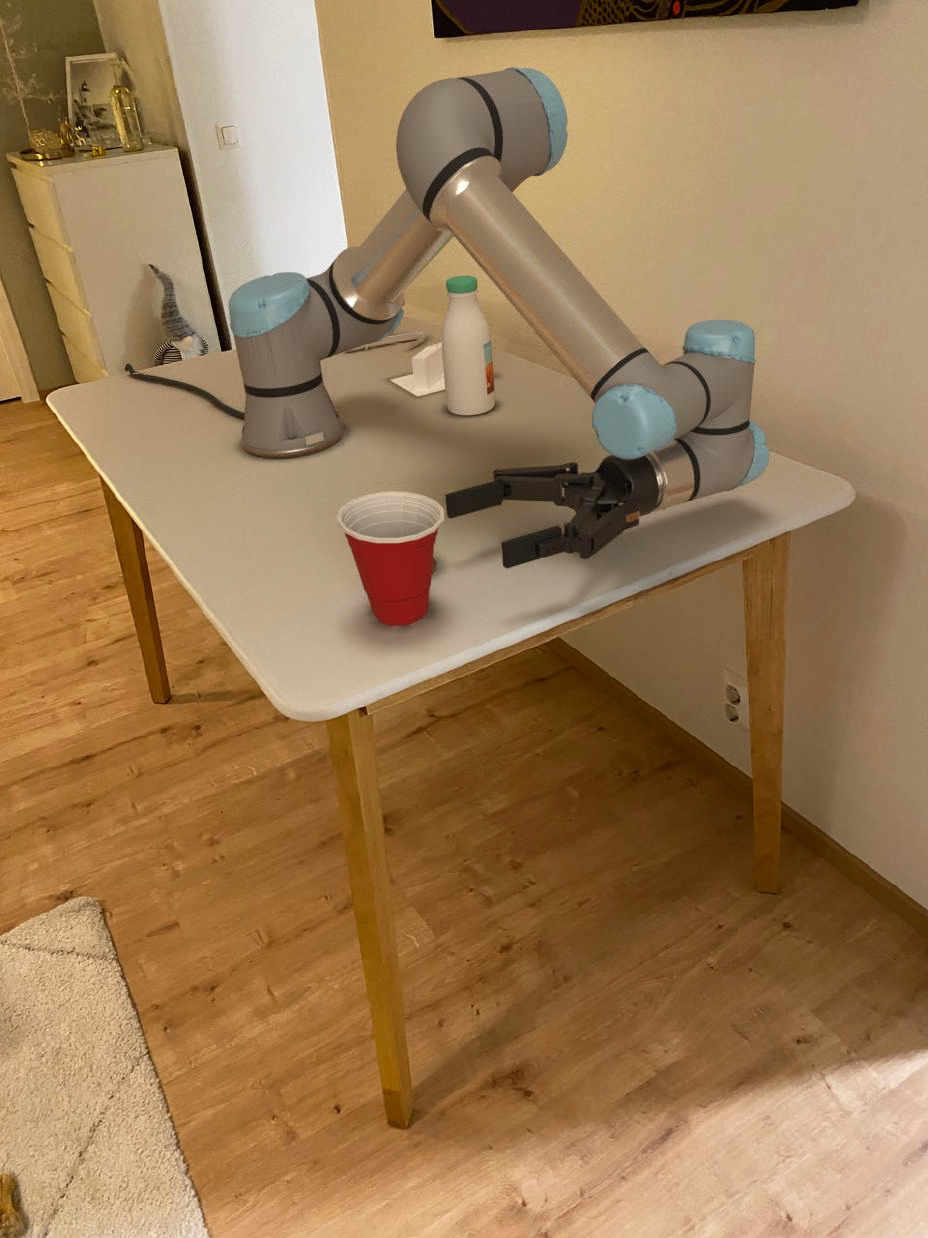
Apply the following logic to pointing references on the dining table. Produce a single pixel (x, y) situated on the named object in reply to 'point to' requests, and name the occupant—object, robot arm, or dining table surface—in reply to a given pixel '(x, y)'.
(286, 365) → the robot arm
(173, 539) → the dining table surface
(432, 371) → the napkin holder
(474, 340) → the milk bottle
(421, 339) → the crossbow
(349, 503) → the plastic cup
